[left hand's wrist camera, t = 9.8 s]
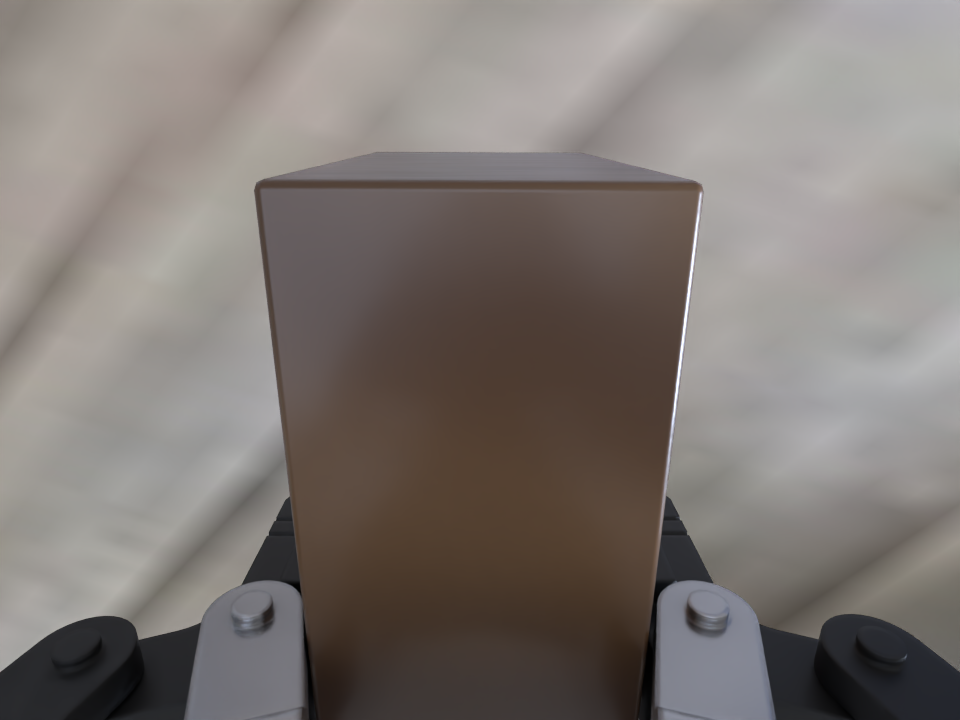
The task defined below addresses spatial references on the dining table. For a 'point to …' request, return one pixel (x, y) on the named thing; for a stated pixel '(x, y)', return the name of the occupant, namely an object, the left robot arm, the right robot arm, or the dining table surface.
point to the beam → (478, 424)
